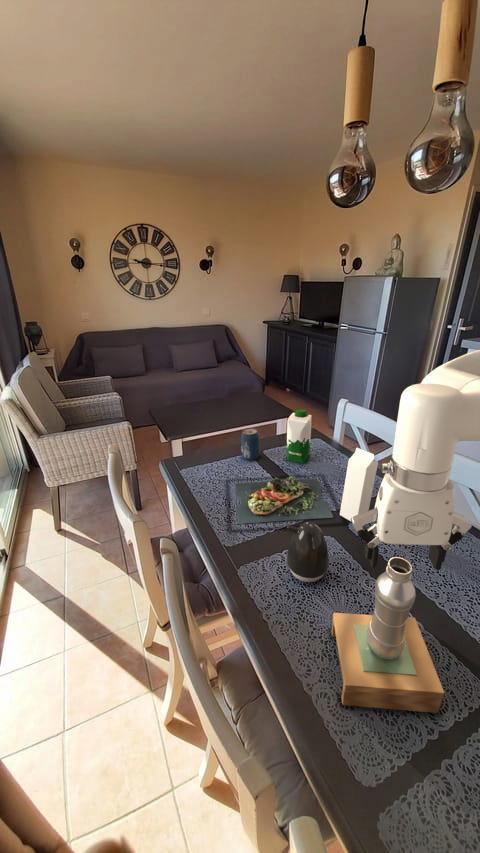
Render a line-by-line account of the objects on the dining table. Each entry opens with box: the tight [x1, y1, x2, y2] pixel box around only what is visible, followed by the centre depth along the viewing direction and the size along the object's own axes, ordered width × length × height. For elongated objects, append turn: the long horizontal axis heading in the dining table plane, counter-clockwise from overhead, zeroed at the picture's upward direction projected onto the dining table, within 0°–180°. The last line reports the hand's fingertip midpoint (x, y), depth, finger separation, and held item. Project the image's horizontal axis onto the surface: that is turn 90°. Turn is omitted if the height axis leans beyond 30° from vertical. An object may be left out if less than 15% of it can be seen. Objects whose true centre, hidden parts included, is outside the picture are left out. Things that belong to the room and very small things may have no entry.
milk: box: [339, 447, 379, 522], centre depth 106 cm, size 6×6×22 cm
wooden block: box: [331, 612, 445, 714], centre depth 68 cm, size 16×14×6 cm
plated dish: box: [234, 476, 334, 525], centre depth 117 cm, size 35×28×7 cm
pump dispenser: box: [286, 521, 330, 583], centre depth 88 cm, size 10×10×15 cm
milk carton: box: [286, 408, 312, 464], centre depth 140 cm, size 9×9×20 cm
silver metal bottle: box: [367, 556, 417, 659], centre depth 62 cm, size 6×7×20 cm
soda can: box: [240, 427, 260, 462], centre depth 144 cm, size 7×7×12 cm
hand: (402, 562), depth 58 cm, fingers open, 9 cm apart
